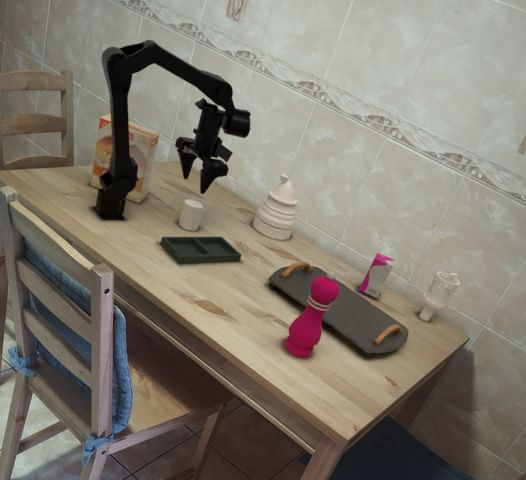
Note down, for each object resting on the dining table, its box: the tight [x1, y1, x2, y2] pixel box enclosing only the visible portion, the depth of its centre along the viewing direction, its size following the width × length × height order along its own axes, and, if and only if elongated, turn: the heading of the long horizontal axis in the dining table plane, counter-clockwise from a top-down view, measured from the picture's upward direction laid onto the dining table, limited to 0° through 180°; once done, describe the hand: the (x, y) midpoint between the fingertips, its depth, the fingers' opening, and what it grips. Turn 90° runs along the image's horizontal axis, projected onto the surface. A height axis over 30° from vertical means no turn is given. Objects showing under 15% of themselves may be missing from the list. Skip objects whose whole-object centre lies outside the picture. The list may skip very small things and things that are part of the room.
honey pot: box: [252, 173, 299, 241], centre depth 161 cm, size 13×13×18 cm
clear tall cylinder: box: [419, 270, 461, 322], centre depth 146 cm, size 7×7×15 cm
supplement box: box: [358, 252, 396, 300], centre depth 148 cm, size 6×6×12 cm
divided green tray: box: [160, 236, 242, 265], centre depth 135 cm, size 19×10×2 cm, turn 128°
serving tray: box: [268, 261, 409, 359], centre depth 132 cm, size 39×23×6 cm, turn 49°
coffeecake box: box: [90, 113, 160, 204], centre depth 145 cm, size 15×7×20 cm, turn 82°
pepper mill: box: [284, 271, 339, 358], centre depth 108 cm, size 7×7×20 cm
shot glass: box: [178, 198, 207, 232], centre depth 145 cm, size 7×7×7 cm
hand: (193, 186), depth 141 cm, fingers open, 9 cm apart
